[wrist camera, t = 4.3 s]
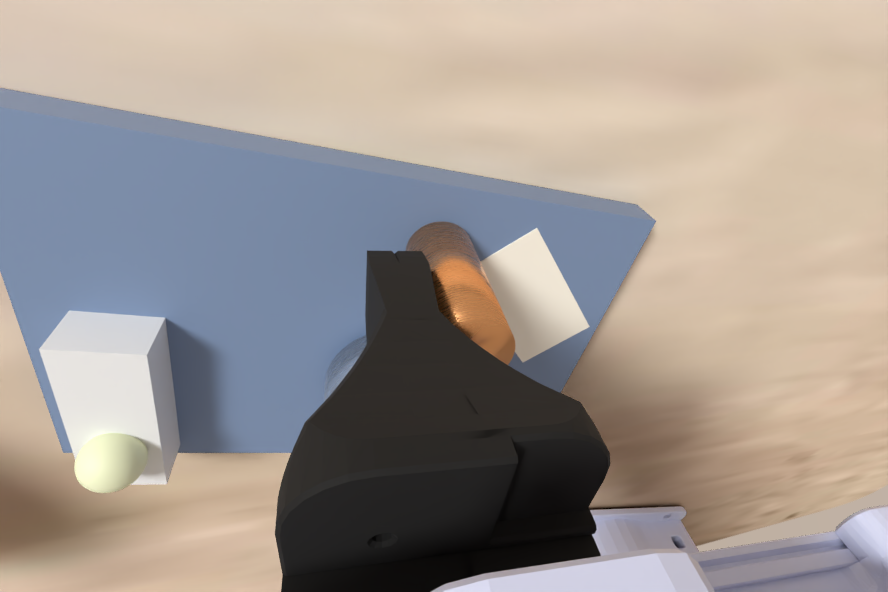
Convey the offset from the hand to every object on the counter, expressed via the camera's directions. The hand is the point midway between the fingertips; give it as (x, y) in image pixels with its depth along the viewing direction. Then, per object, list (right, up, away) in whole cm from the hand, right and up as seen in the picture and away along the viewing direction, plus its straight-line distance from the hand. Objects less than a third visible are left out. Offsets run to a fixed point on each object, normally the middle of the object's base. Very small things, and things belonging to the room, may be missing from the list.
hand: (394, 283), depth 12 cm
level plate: (-2, -1, +4) cm, 5 cm away
